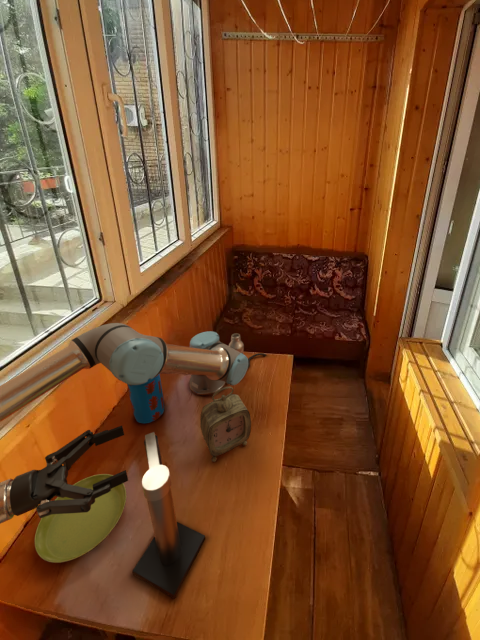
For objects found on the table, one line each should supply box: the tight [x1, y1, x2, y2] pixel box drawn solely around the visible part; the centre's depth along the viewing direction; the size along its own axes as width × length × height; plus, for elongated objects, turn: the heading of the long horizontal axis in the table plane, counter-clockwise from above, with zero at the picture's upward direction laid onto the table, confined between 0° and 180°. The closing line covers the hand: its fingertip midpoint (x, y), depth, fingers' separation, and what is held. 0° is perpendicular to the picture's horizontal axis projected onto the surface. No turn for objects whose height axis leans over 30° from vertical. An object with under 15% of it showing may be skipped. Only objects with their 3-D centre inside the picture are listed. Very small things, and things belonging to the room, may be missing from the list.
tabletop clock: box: [199, 386, 252, 463], centre depth 101 cm, size 14×9×25 cm, turn 123°
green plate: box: [34, 473, 127, 564], centre depth 83 cm, size 21×21×3 cm
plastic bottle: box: [228, 332, 245, 354], centre depth 134 cm, size 6×7×20 cm
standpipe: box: [132, 488, 206, 600], centre depth 73 cm, size 12×12×24 cm
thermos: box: [126, 373, 165, 424], centre depth 114 cm, size 11×11×25 cm
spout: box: [141, 431, 172, 501], centre depth 76 cm, size 18×6×22 cm, turn 29°
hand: (125, 451), depth 76 cm, fingers open, 13 cm apart
